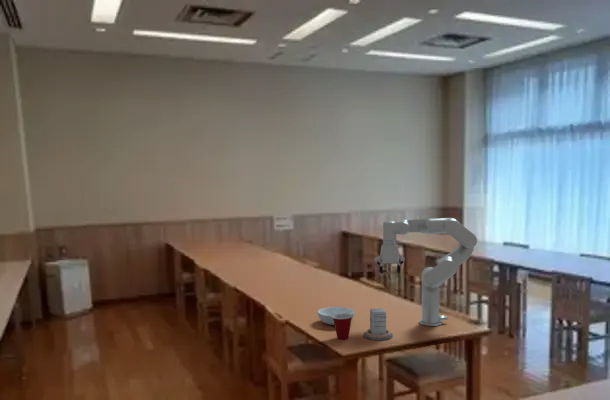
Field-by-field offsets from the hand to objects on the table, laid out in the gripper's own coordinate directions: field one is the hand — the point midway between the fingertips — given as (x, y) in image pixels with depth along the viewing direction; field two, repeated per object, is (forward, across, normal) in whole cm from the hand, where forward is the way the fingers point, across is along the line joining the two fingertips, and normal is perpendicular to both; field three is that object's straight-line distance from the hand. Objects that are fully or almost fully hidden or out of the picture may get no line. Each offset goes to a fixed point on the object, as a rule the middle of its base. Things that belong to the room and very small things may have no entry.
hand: (389, 272), depth 293 cm
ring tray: (+28, +12, +24) cm, 39 cm away
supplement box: (+28, +12, +24) cm, 39 cm away
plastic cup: (+28, +31, +26) cm, 49 cm away
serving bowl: (+29, +31, -1) cm, 42 cm away
